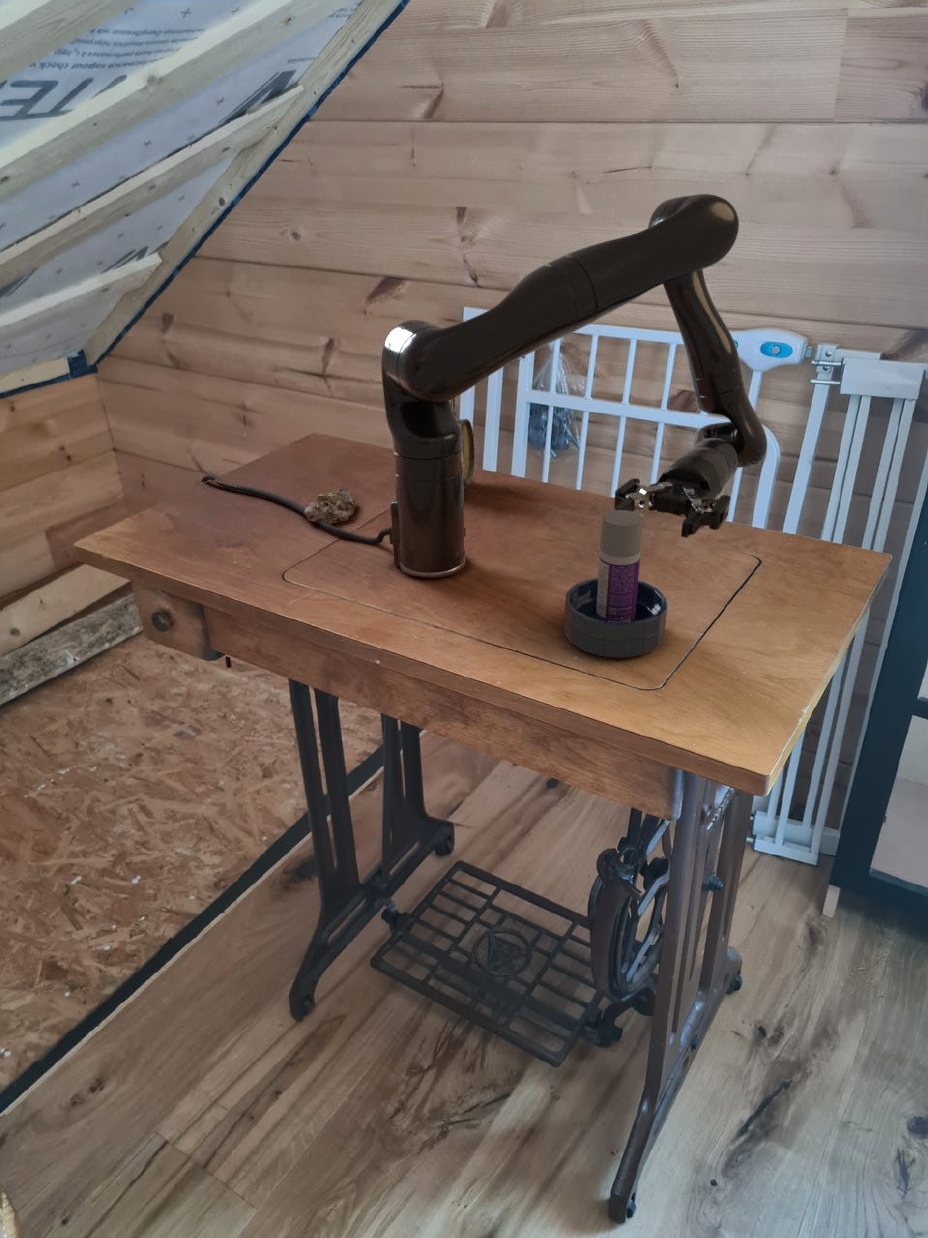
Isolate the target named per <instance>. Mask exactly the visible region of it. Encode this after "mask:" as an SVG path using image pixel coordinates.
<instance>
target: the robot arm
mask: <svg viewBox="0 0 928 1238" xmlns="http://www.w3.org/2000/svg"><path fill="white" fill-rule="evenodd" d="M739 229H740V219H739V215H738V212H737V211H736V209H735V207H734V205H733V204H732V203H730V201H728V200H727V199H726V198H723V197H721V196H719V195H716V194H710V193H699V194H698V193H697V194H693V195H684V196H678V197H673V198H670V199H666V200H664V201H663V202H661V203H660V204H658V206H657V207H655V210H653V212H652V213H651V215H650V218H649V221H648V225H647V228H646V229H643V230H641V231H639V232H635V233H633V234H630V235H625V236H621V237H618V238H613V239H609V240H605V241H603V242H602V241H601V242H599V243H596V244H592V245H588V246H585V247H583V248H580V249H577V250H574V251H571V252H569V253H566V254H564V255H562V256H560V257H558V258H556V259H554V260H551V261H549V262H547V263H545V264H543V265H541V266H539V267H537V268H536V269H534V270H532V271H531V272H529V273H528V274H526V276H525V275H524V277H523V278H522V279H521V280H520V281H518V282H517V284H515V286H514V287H513V288H512V289H511V290H510V291H509V292H508V294H507V295H505V297H504V298H503V299H502V300H501V301H500V302H498V303H497V304H496V305H494V306H493V307H492V308H490V309H489V310H486V311H485V312H482V313H480V314H478V315H476V316H473V317H472V318H469V319H467V320H465V321H462V322H459V323H457V324H454V325H451V326H447V327H441V326H439V325H436V324H433V323H432V322H429V321H426V320H423V319H408V320H405V321H403V322H400V323H398V324H397V325H396V326H395V327H394V328H392V329H391V331H390V332H389V334H388V335H387V337H386V338H385V341H384V344H383V346H382V351H381V360H380V366H381V367H380V368H381V370H380V371H381V382H382V383H381V384H382V392H383V402H384V411H385V412H384V413H385V421H386V424H387V428H388V430H389V433H390V436H391V440H392V450H393V451H392V452H393V467H394V481H395V482H394V483H395V498H396V499H394V500H393V501H391V503H390V518H391V519H390V520H391V526H390V527H387V528H383V529H381V530H380V531H379V532H378V534H377V537H366V536H362V535H357V534H355V533H352V532H349V531H347V530H344V529H341V528H339V527H336V526H334V525H332V524H328V523H326V522H325V521H323V520H321V519H319V520H317V521H315V522H314V523H316V524H317V525H318V526H320V527H321V528H323V529H324V530H327V531H328V532H330V533H332V534H335V535H338V536H340V537H342V538H345V539H347V540H350V541H354V542H358V543H361V544H362V543H363V544H367V545H378V544H380V543H382V542H383V541H384V539H385V537H386V536H388V537H389V544H390V545H392V551H393V565H394V566H396V567H399V568H400V570H401V571H402V572H404V573H405V574H407V575H409V576H412V577H415V578H421V579H440V578H446V577H450V576H453V575H456V574H457V573H460V572H461V571H462V570H463V569H465V566H466V550H465V538H466V536H467V535H466V527H465V502H464V501H465V496H464V495H465V494H464V493H465V492H464V486H463V448H462V430H461V427H460V425H459V423H458V421H457V419H458V418H457V417H456V414H455V415H454V413H453V407H452V408H451V404H450V400H451V399H452V400H453V398H455V399H456V398H457V397H459V396H460V395H462V394H464V393H465V392H467V391H468V390H470V389H471V388H473V387H474V386H476V385H477V384H479V383H480V382H482V381H484V380H485V379H487V378H488V377H490V376H491V375H493V374H494V373H497V371H499V370H501V369H502V368H505V366H507V365H509V364H511V363H513V362H515V361H516V360H519V359H520V358H523V357H525V356H527V355H530V354H531V353H533V352H536V351H538V350H539V349H541V348H543V347H545V346H547V345H549V344H552V343H553V342H556V341H557V340H560V339H562V338H564V337H566V336H568V335H571V334H572V333H574V332H576V331H579V330H580V329H582V328H585V327H586V326H588V325H590V324H592V323H594V322H596V321H598V320H599V319H601V318H603V317H605V316H607V315H608V314H611V313H612V312H614V311H616V310H618V309H620V308H622V307H623V306H625V305H627V304H629V303H631V302H633V301H634V300H636V299H638V298H640V297H641V296H643V295H644V294H646V293H648V292H650V291H651V290H653V289H655V288H658V287H660V286H661V285H662V286H663V288H664V292H665V294H666V297H667V299H668V302H669V305H670V307H671V310H672V313H673V315H674V318H675V321H676V324H677V327H678V330H679V333H680V336H681V339H682V342H683V346H684V350H685V354H686V358H687V362H688V367H689V372H690V378H691V382H692V386H693V391H694V397H695V400H696V401H695V402H696V405H697V408H698V409H699V410H700V411H701V412H703V413H706V414H710V415H711V414H713V415H718V416H719V415H720V416H722V417H723V416H724V417H726V418H727V419H728V420H729V421H724V422H723V421H722V422H717V423H715V422H714V423H710V424H707V425H704V426H702V427H700V428H699V429H698V430H697V432H696V433H695V436H694V443H693V446H692V448H691V449H690V450H689V451H687V452H685V453H683V454H682V455H681V456H680V457H678V458H677V459H676V460H675V461H674V462H673V463H672V464H671V465H670V466H668V468H667V469H666V470H664V472H663V473H662V474H661V475H660V477H659V478H658V480H657V482H655V483H651V484H649V485H648V486H647V485H642V484H640V483H641V480H640V479H639V478H636V477H634V478H631V479H629V480H628V481H626V482H625V483H624V484H622V485H621V486H620V487H618V488H617V489H616V490H615V491H614V502H613V509H614V510H626V511H632V512H635V513H637V514H640V513H641V514H643V515H644V516H647V515H652V514H653V515H654V514H658V513H661V514H671V515H674V516H677V517H681V518H683V519H684V520H683V521H682V523H681V525H682V526H681V531H680V532H681V534H680V536H681V537H682V538H686V539H688V538H689V536H693V535H695V534H696V533H697V532H698V531H699V530H701V529H704V527H705V526H706V527H708V528H709V529H710V530H713V531H717V530H719V529H720V528H721V527H722V525H723V523H724V522H725V520H726V518H727V517H728V515H729V510H730V504H731V503H730V502H731V496H730V495H726V494H724V495H723V494H722V495H721V493H722V491H723V490H724V488H725V486H726V484H727V483H729V481H730V480H731V479H732V478H733V476H734V475H735V473H736V472H737V471H738V469H740V468H749V467H750V468H751V467H754V466H758V465H759V464H760V463H761V462H762V461H763V460H764V458H765V456H766V454H767V451H768V439H767V433H766V431H765V428H764V426H763V424H762V422H761V420H760V419H759V417H758V415H757V413H756V411H755V409H754V407H753V405H752V403H751V401H750V398H749V396H748V394H747V390H746V388H745V383H744V378H743V372H742V366H741V362H740V356H739V352H738V348H737V345H736V343H735V341H734V338H733V336H732V334H731V332H730V330H729V328H728V326H727V325H726V323H725V322H724V320H723V318H722V316H721V314H720V313H719V311H718V309H717V308H716V306H715V303H714V301H713V300H712V296H711V294H710V293H709V290H708V286H707V284H706V279H705V275H704V269H706V268H710V267H712V266H714V265H716V264H718V263H719V262H721V261H722V260H723V259H725V257H726V256H727V255H728V254H729V253H730V251H731V250H732V249H733V246H735V243H736V240H737V237H738V234H739ZM217 478H218V477H217V476H216V475H214V474H210V473H209V474H206V475H203V477H202V478H201V480H200V483H207V482H209V481H212V482H214V483H215V484H217V485H218V486H220V487H222V488H224V489H227V490H231V491H236V492H241V493H246V494H247V493H248V494H251V495H256V496H260V497H263V498H266V499H270V500H272V501H275V502H277V503H280V504H282V505H285V506H287V507H289V508H291V509H293V510H295V511H297V512H298V513H300V514H302V515H303V516H304V517H305V516H307V515H306V514H304V509H305V507H303V506H301V505H300V504H298V503H296V502H295V501H292V500H290V499H288V498H285V497H283V496H281V495H278V494H275V493H274V492H273V493H272V492H269V491H266V490H263V489H259V488H254V487H250V486H244V485H241V484H240V485H239V484H236V485H237V486H238V487H234V486H230V485H226V484H222V483H218V482H215V481H213V480H215V479H217ZM219 480H222V479H220V478H219V479H218V481H219ZM222 481H223V480H222ZM222 481H221V482H222ZM231 484H232V485H234V483H231ZM239 487H240V488H239ZM719 495H721V496H720V497H719V498H718V496H719ZM637 501H639V503H638V504H637V505H636V504H635V503H636V502H637ZM650 505H651V506H650ZM708 509H711V510H710V511H707V510H708ZM224 659H225V665H226V668H227V669H231V668H232V666H233V665H232V659H231V656H230V657H227V656H226V657H225V656H224Z"/></svg>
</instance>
